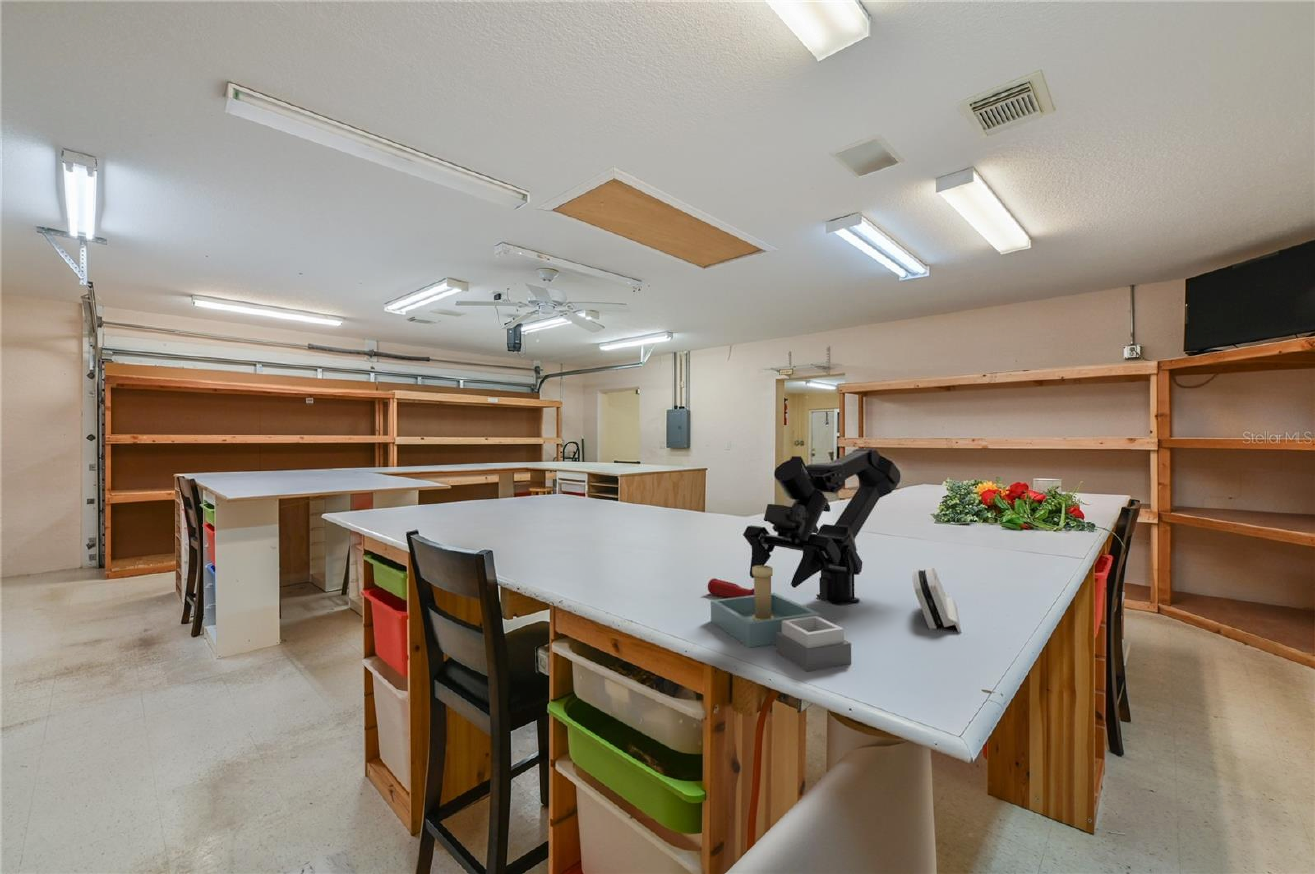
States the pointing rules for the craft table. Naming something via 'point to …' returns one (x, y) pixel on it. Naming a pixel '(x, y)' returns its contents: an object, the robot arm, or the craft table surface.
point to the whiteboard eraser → (934, 600)
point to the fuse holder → (813, 643)
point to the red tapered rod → (728, 589)
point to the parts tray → (740, 624)
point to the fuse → (762, 592)
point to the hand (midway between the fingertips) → (771, 581)
